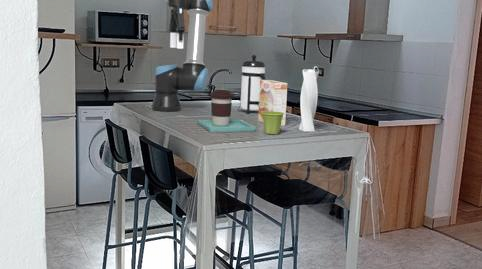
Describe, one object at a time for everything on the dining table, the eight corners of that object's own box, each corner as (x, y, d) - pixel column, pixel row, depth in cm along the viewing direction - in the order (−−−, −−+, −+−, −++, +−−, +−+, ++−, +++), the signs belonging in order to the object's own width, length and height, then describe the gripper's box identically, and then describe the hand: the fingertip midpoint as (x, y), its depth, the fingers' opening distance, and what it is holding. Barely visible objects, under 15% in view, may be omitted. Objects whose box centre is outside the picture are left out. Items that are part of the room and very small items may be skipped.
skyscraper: (320, 132, 213) (325, 66, 208) (302, 133, 210) (307, 66, 205) (311, 129, 221) (316, 65, 215) (294, 129, 218) (299, 64, 213)
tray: (197, 124, 221) (197, 120, 221) (240, 123, 228) (240, 119, 228) (210, 132, 203) (210, 128, 203) (256, 131, 210) (256, 127, 209)
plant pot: (266, 136, 201) (267, 114, 199) (256, 131, 209) (257, 111, 207) (287, 135, 204) (288, 114, 203) (276, 131, 213) (277, 110, 211)
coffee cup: (215, 127, 212) (216, 92, 209) (205, 123, 220) (206, 89, 218) (236, 126, 217) (237, 91, 214) (225, 122, 225) (226, 89, 222)
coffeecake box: (257, 120, 238) (259, 79, 234) (270, 120, 240) (273, 79, 237) (271, 126, 224) (274, 82, 220) (285, 125, 227) (288, 82, 223)
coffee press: (232, 112, 261) (234, 54, 255) (243, 109, 275) (246, 54, 270) (263, 115, 255) (266, 56, 249) (273, 112, 269) (276, 55, 264)
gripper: (163, -2, 223) (162, 46, 227) (174, -6, 200) (173, 48, 204) (179, -1, 226) (178, 47, 230) (193, -4, 203) (191, 49, 207)
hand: (176, 48), depth 217 cm, fingers open, 13 cm apart
